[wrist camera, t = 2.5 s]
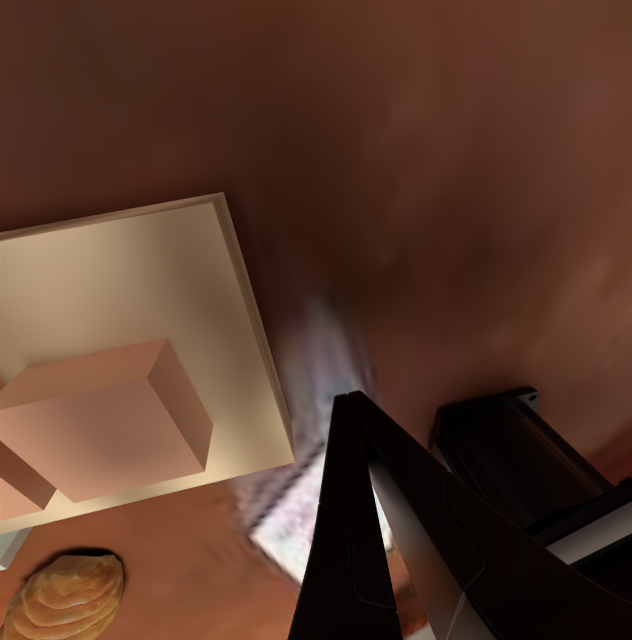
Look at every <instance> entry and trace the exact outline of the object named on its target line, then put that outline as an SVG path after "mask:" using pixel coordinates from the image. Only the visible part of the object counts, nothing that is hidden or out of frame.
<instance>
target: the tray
mask: <svg viewBox="0 0 632 640" xmlns="http://www.w3.org/2000/svg"><path fill="white" fill-rule="evenodd" d="M32 527H33V526H32ZM32 527H28V528H24V529H20V530H15V531H11V532H7V533H3V534H0V570H4V569H7V568H8V566H9V565H10V563H11V561H12V560H13V558H14V557H15V555H16V553H17V552H18V550H19V548H20V547H21V545H22V544H23V542H24V540H25V539H26V537H27V536H28V534H29V532H30V531H31V529H32Z"/></svg>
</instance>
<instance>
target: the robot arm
mask: <svg viewBox="0 0 632 640" xmlns="http://www.w3.org/2000/svg"><path fill="white" fill-rule="evenodd" d="M539 398H540V392H538V391H537V390H536V389H535V388H533V387H530V388H526V389H521V390H517V391H513V392H509V393H505V394H501V395H496V396H492V397H488V398H484V399H480V400H476V401H471V402H467V403H463V404H459V405H455V406H450V407H446V408H443V409H442V410H440V411H439V412H438V414H437V422H436V431H435V438H434V441H433V448H432V454H430V453H429V452H428V451H427V450H426V449H425V448H424V447H423V446H422V445H420V444H419V443H418V442H417V441H416V440H415V439H414V438H413V437H412V436H411V435H409V434H408V433H407V432H406V431H405V430H404V429H403V428H402V427H401V426H399V425H398V424H397V423H396V422H395V421H394V420H393V419H392V418H391V417H389V416H388V415H387V414H386V413H385V412H384V411H383V410H382V409H381V408H379V407H378V406H377V405H376V404H375V403H374V402H373V401H372V400H371V399H369V398H368V397H367V396H366V395H365V394H364V393H363V392H362V391H360V390H358V391H353V392H349V393H348V395H347V394H346V393H344V394H340V395H336V396H335V397H334V402H333V408H332V415H331V422H330V429H329V436H328V443H327V450H326V456H325V463H324V470H323V477H322V484H321V491H320V497H319V505H318V510H317V517H316V523H315V528H314V534H313V540H312V545H311V549H310V554H309V558H308V562H307V567H306V571H305V575H304V579H303V582H302V586H301V590H300V594H299V598H298V601H297V605H296V609H295V613H294V617H293V620H292V624H291V628H290V632H289V636H288V639H287V640H403V638H402V633H401V628H400V623H399V618H398V615H397V608H396V603H395V598H394V593H393V588H392V583H391V578H390V573H389V568H388V563H387V558H386V553H385V548H384V543H383V538H382V533H381V528H380V523H379V518H378V513H377V508H376V503H375V498H374V493H373V488H372V485H373V487H374V489H375V492H376V494H377V497H378V499H379V502H380V504H381V506H382V509H383V511H384V514H385V516H386V519H387V521H388V523H389V526H390V528H391V531H392V533H393V536H394V538H395V541H396V543H397V545H398V548H399V550H400V553H401V555H402V558H403V560H404V562H405V565H406V567H407V570H408V572H409V575H410V577H411V579H412V582H413V584H414V587H415V589H416V592H417V594H418V596H419V599H420V601H421V604H422V606H423V609H424V611H425V614H426V616H427V618H428V621H429V623H430V626H431V628H432V631H433V633H434V635H435V638H436V640H632V478H631V477H630V476H628V477H626V478H624V479H623V480H621V481H619V482H618V483H619V484H620V485H618V486H616V487H614V486H613V485H612V484H611V483H610V482H609V481H608V480H607V479H606V478H605V477H604V476H602V475H601V474H600V473H599V472H598V471H597V470H596V469H595V468H594V467H593V466H592V465H591V464H590V463H589V462H588V461H587V460H586V459H584V458H583V457H582V456H581V455H580V454H579V453H578V452H577V451H576V450H575V449H574V448H573V447H572V446H571V445H570V444H569V443H568V442H566V441H565V440H564V439H563V438H562V437H561V436H560V435H559V434H558V433H557V432H556V431H555V430H554V429H553V428H552V427H551V426H550V425H549V424H547V423H546V422H545V421H544V420H543V419H542V418H541V417H540V416H539V415H538V414H537V413H536V412H535V409H536V406H537V403H538V401H539ZM371 482H372V483H371Z"/></svg>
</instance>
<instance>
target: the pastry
mask: <svg viewBox="0 0 632 640" xmlns="http://www.w3.org/2000/svg"><path fill="white" fill-rule="evenodd" d="M122 596H123V572H122V564H121V561H118V560H117V559H116V557H115V556H114V555H113V554H112V555H104V556H101V557H93V556H72V555H63V556H60V557H59V558H58V559H57V560H56V561H54V562H53V563H52V564H50V565H48V566H47V567H45V568H44V569H42V570H39V571H37V572H36V573H34V574H33V575H32V576H31V577H30V578H29V580H28V582H27V583H26V584H25V586H24V587H23V588H22V589H21V590H20V591H19V592H18V593H17V594H16V595H15V596H14V597H13V598H12V599H11V601H10V602H9V604H8V610H7V612H6V617H5V622H4V623H3V625H2V626H1V628H0V640H95V638H96V637H97V636H98V635H99V634H101V632H102V631H103V630H105V628H106V627H107V626H108V625H109V624H110V623H111V621H113V619H114V617H115V615H116V613H117V611H118V609H119V608H120V604H121V602H122Z"/></svg>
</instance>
